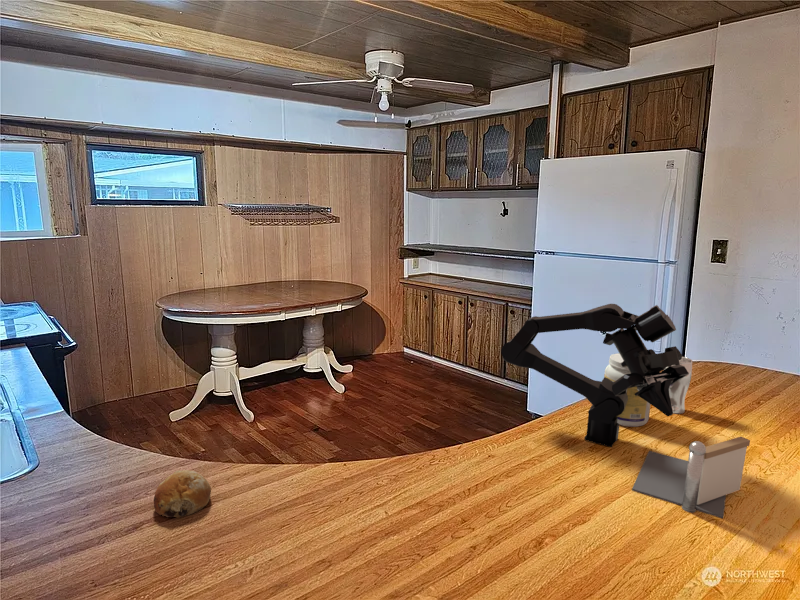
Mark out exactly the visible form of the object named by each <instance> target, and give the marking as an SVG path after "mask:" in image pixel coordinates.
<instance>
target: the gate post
mask: <svg viewBox="0 0 800 600" xmlns="http://www.w3.org/2000/svg"><path fill="white" fill-rule="evenodd" d="M688 451H689V453H688V459H687V461H688V466H687V473H686V480H685V487H684V494H683V501H682V506H681V509H682V510H683V511H685V512H687V513H692V514H693V513H696V511H697V510H696V506H697V499H698V493H699V486H700V479H701V473H702V466H703V459H704V454H705V453H706V446H705V444H704V443H703V442H702V441H699V440H695V441H692V442H691V443H689V446H688Z"/></svg>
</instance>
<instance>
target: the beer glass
mask: <svg viewBox="0 0 800 600" xmlns="http://www.w3.org/2000/svg"><path fill="white" fill-rule="evenodd" d="M679 363H680V365H682V366H684V367H685V368H686V370H687V371H688V373H689V374H688V375H687V376H685V377H683V378H682V379H680V380H678V381H677V382H675V383H673V384H671V385H670V387H669V395H670V400H671V405H672V410H673V414H678V415H679V414H684V413H685V412H686V411H685V410H686V409H685V408H686V406H685V400H686V395H687V392H688V390H689V387H690V383H691V380H692V374H693V360H692V359H691V358H689V357H685V356H682V359H681V360H679ZM672 366H675V365H672ZM666 368H668V367H666ZM664 370H665V369H664Z"/></svg>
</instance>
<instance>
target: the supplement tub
mask: <svg viewBox="0 0 800 600" xmlns="http://www.w3.org/2000/svg"><path fill="white" fill-rule="evenodd" d="M623 361H624V360H623V359H622V357H621V355H620V353H619V352H618V353H612V354H610V356H609V359H608V365H607V366H606V367H605V369H604V377H606V378H608V379H610V380H611V381H612V382H615V381H616V380H618V379H619V378H621V377H622V376H623V375H625V374H631V373H630V371H629V369H628V368H627V367H622V365H621V363H622V362H623ZM604 377H603V378H604ZM636 392H638V390H637V387H632V388H628V389H627V390H626V393H627V395H628V401H627V404H626V406H625V409H624V411H623V412H622V413H621V414H620V415H618V416H617V417H618V420H617V423H619V424H620V425H619V426H624V427H632V428H633V427H635V428H636V427H641V426H644V425H645V424H647V423H648V422H649V419H650V412H651V406H652V405H651V404H650V403H648V402H647V401H645V400H644V399H642V398H641V397H639V396H635V393H636Z"/></svg>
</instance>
